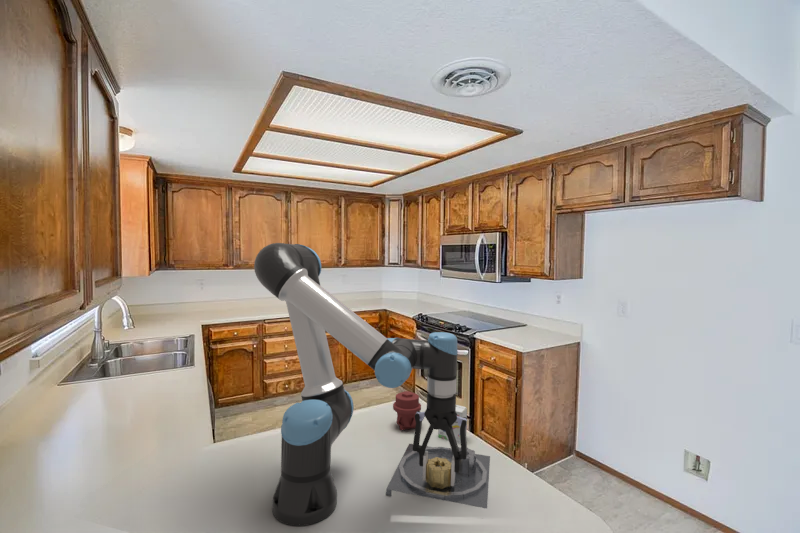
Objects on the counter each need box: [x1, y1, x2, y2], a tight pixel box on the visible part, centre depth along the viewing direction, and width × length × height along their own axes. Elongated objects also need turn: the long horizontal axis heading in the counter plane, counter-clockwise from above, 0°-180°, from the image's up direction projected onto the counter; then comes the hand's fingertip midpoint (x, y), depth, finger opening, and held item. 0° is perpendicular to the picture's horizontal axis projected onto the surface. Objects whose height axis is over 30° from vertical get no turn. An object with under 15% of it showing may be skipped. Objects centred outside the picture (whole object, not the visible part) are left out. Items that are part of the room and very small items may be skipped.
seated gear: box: [451, 446, 476, 475], centre depth 107 cm, size 7×7×4 cm
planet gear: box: [426, 457, 451, 489], centre depth 99 cm, size 7×7×4 cm
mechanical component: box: [392, 390, 422, 431], centre depth 136 cm, size 12×10×10 cm
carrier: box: [385, 443, 491, 509], centre depth 105 cm, size 25×25×6 cm
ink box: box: [437, 404, 468, 444], centre depth 125 cm, size 9×5×12 cm, turn 62°
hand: (438, 480), depth 99 cm, fingers open, 7 cm apart
